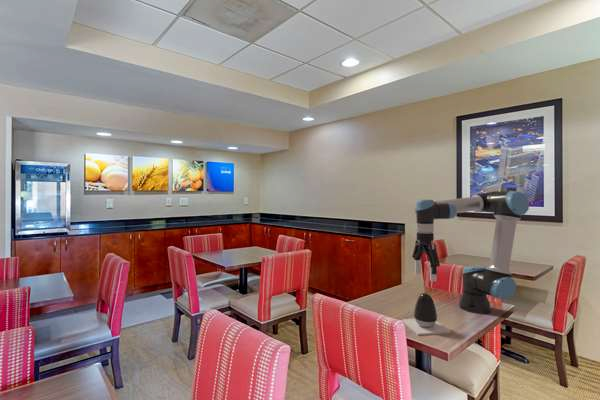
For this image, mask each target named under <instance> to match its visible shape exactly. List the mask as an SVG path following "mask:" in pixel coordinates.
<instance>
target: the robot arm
mask: <svg viewBox="0 0 600 400" xmlns="http://www.w3.org/2000/svg"><path fill="white" fill-rule="evenodd" d="M529 209H530V203H529V199H528V198H527V196H526V195H525V194H524V193H523V192H521V191H514V190H504V191H503V190H502V191H501V190H500V191H499V190H498V191H493V190H492V191H488V192H484V193H478V194H473V195H471V196H469V197H462V198H461V197H460V198H452V199H445V200H436V201H434V200H433V199H418V200H416V205H415V207H414V213H415V214H416V225H415V227H416V240H415V245H414V249H413V253H412V256H411V257H412V258H413V260H414V274H415V275H416V274H422V259H421V258H422V256H423V254H426V256H427V259H428V261H429V265H430V266H429V281H430V282H437V275H438V274H437V273H438V272H437V268H438V267H440V266H441V264H440V260H439V257H438V253H437V247H436V246H437V245H436V244H435V243H434V244H432V242H433V241H434V240H435V238H434V235H435V234H434V232H435V231H434V228H435V226H434V221H435V220H450V219H454V218H456V216H457V214H458V213H459V214H460V213H461V214H462V213H467V212H474V213H492V214H493V217H494V218H495V219H496V221H495V227H494V234H493V239H492V245H491V253H490V258H489V263H488V266H484V265H467V266H464V267H463V268H462V275H461V276H462V278H461V279H462V294H461V296H460V299H459V302H458V306H459V308H460V309H461V310H464V311H467V312H470V313H475V314H488V313H490V312H491V311H492V310H491V304H490V300H489V298H488V296H489V297H492V298H494V299H499V300H501V301H502V300H508V299H510V298H511V297H513V295H514V294H515V292H516V290H517V283H516V281H515V280H514V278H512V275H513V274H512V271H510V265H511V260H512V259H511V258H512V253H513V247H514V246H513V245H514V239H515V233H516V228H517V223H518V222H519V221H521V219H522V216H524V215H526V214H527V212H528V211H529Z"/></svg>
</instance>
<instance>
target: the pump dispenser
mask: <svg viewBox="0 0 600 400" xmlns="http://www.w3.org/2000/svg"><path fill="white" fill-rule="evenodd" d="M413 319H415V320H416V322H417V323H418V324H419V325H420V326H422V327H432V326H433V325H434V324H435V323H436V321H437V320H438V313H437V308H436V305H435V302H434V300H433V298H432V296H431V295H430V294H429V293H426V292H423V293H421V294H419V295H418V297H417V300H416V302H415V306H414V310H413Z"/></svg>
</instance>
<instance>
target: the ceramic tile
mask: <svg viewBox="0 0 600 400" xmlns="http://www.w3.org/2000/svg"><path fill="white" fill-rule="evenodd" d="M402 321H404V323H405V324H404V323H403V324H404V325H405V326H407V328H409V329H410V330H411V331H412V332H413V333H414V334H416V336H428V335H441V334H451V333H452V331H451V330H450V329H448V327H446V326H444V325H443V324H441V323H440V322H439V321H437V320H436V323H435V324H434V325H433V326H432V327H422V326H420V325H419V324H418V323H417V322H416V320H415V318H405V319H401V322H402Z"/></svg>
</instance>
